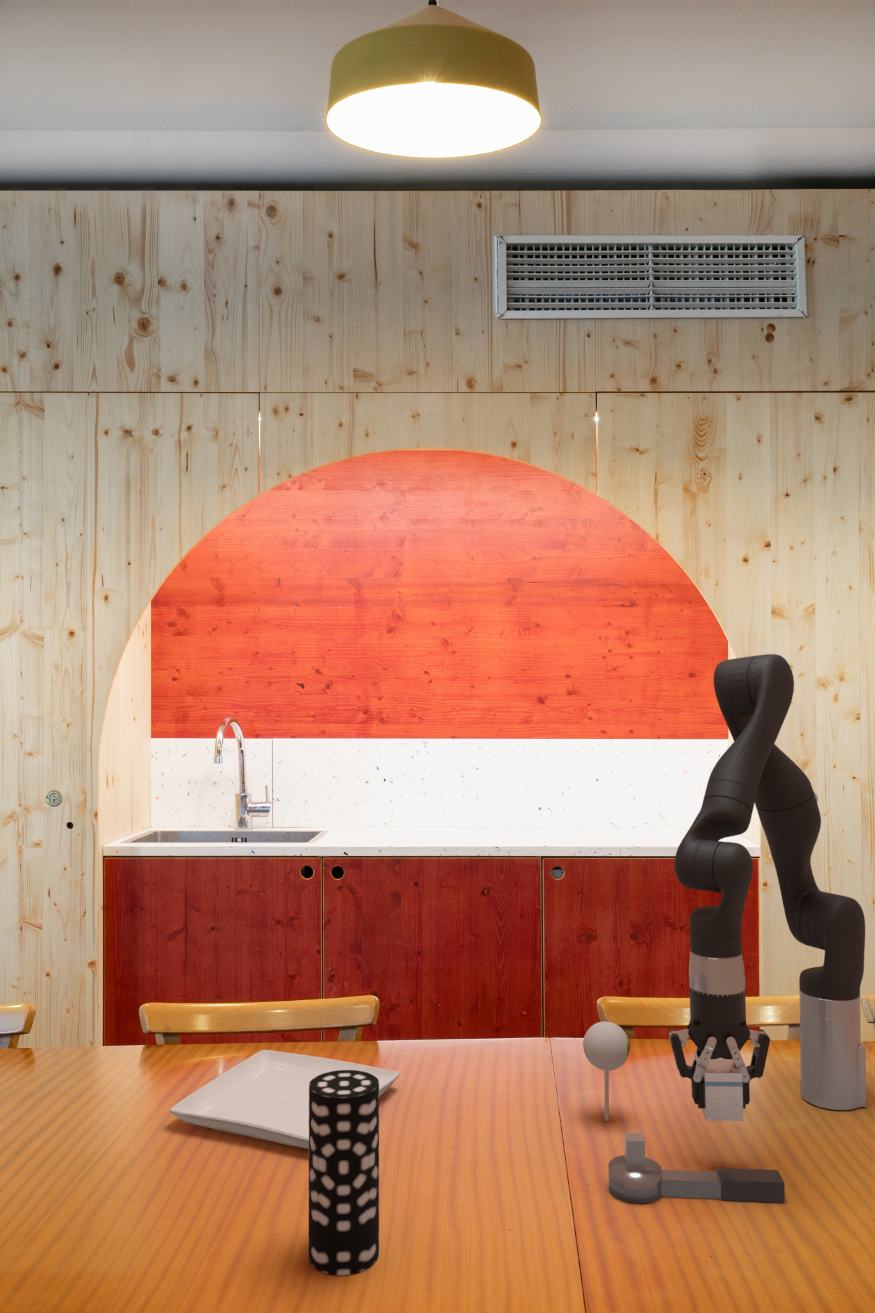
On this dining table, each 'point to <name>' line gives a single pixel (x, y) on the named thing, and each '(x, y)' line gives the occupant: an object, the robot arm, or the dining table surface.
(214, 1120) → the square plate
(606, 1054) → the lollipop
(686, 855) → the robot arm
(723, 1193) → the ratchet
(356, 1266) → the spotted tube
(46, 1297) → the dining table surface
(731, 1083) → the silver block
